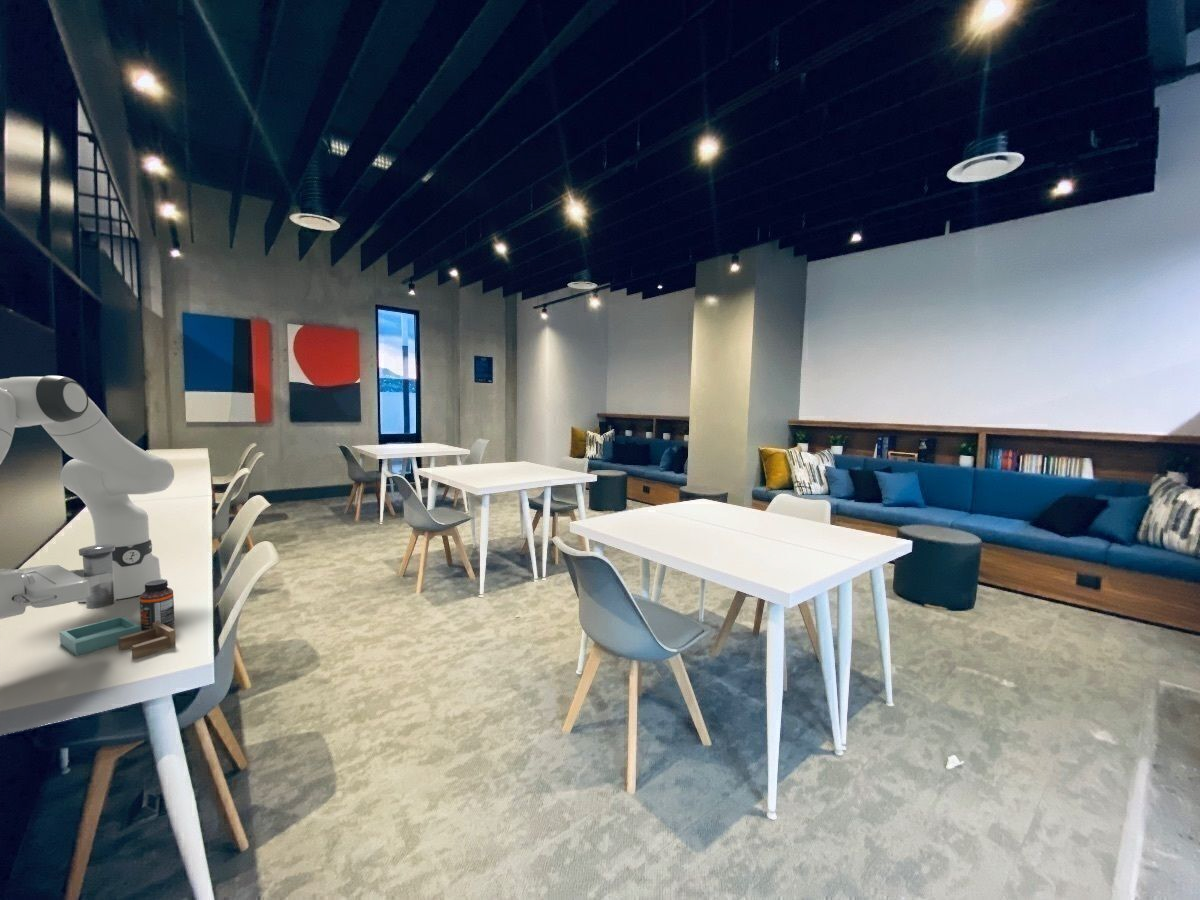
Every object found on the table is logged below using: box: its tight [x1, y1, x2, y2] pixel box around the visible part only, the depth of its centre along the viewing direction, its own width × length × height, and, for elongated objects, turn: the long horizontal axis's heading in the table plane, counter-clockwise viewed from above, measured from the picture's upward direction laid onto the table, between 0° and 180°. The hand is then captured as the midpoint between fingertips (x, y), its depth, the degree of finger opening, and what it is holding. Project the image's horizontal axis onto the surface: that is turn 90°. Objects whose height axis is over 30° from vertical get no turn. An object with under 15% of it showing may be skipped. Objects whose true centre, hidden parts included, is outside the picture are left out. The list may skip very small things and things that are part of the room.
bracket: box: [118, 621, 176, 660], centre depth 108 cm, size 9×7×4 cm
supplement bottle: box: [139, 579, 175, 631], centre depth 118 cm, size 6×6×11 cm
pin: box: [78, 544, 116, 610], centre depth 106 cm, size 5×5×12 cm
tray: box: [59, 615, 142, 656], centre depth 112 cm, size 11×11×3 cm
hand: (104, 573), depth 107 cm, fingers closed on pin, 4 cm apart
